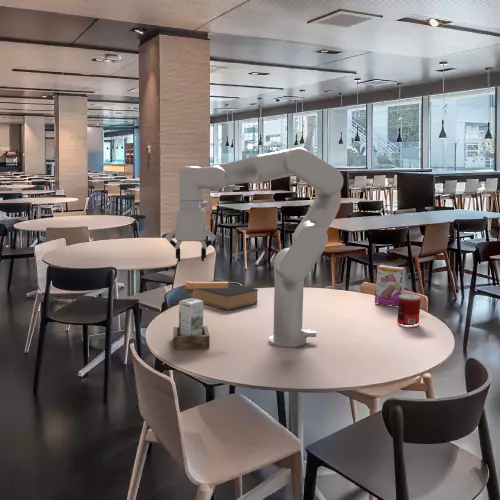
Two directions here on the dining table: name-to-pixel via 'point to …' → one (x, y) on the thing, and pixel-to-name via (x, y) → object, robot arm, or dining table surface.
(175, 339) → the holder
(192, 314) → the syrup box
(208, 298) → the book
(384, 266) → the candy bar box
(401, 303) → the canned food
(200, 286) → the bar
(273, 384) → the dining table surface
